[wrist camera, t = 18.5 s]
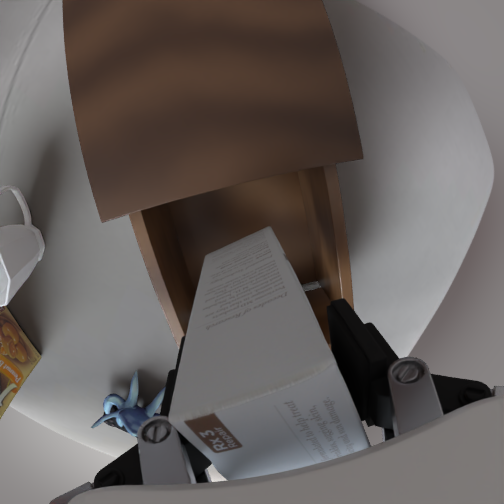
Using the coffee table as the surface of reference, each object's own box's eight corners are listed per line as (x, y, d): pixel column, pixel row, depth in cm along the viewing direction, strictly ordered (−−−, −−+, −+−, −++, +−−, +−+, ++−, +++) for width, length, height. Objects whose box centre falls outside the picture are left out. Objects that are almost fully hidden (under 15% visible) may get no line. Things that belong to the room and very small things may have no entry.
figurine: (179, 379, 32) (186, 435, 26) (155, 424, 36) (159, 471, 30) (100, 360, 28) (93, 419, 22) (91, 411, 33) (87, 459, 26)
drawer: (335, 334, 29) (365, 387, 22) (209, 364, 29) (206, 425, 22) (305, 138, 23) (343, 134, 15) (145, 178, 23) (108, 191, 15)
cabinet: (313, 154, 24) (364, 159, 15) (146, 195, 24) (101, 223, 15) (271, -3, 19) (294, -66, 10) (112, 36, 19) (62, -8, 10)
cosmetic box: (307, 305, 19) (390, 465, 7) (243, 334, 19) (269, 510, 8) (268, 218, 17) (357, 353, 5) (196, 253, 17) (160, 429, 6)
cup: (10, 269, 25) (-33, 300, 18) (6, 178, 22) (-46, 192, 14) (57, 280, 26) (17, 318, 18) (56, 182, 23) (4, 197, 15)
